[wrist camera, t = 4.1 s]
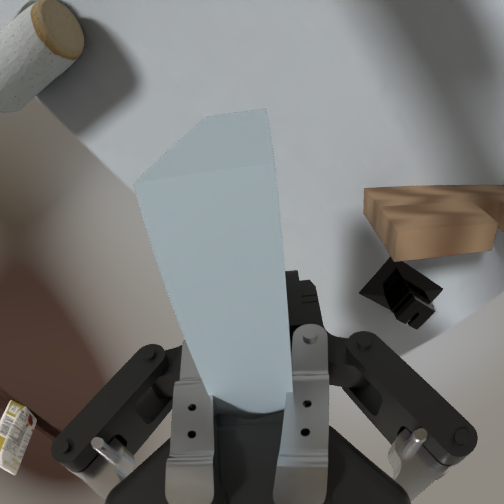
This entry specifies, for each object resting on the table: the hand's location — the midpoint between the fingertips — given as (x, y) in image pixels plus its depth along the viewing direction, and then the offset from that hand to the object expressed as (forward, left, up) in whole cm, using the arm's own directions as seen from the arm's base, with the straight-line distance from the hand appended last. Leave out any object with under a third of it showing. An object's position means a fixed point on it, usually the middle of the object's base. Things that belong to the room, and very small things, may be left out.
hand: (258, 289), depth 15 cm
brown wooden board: (+2, +20, -13) cm, 24 cm away
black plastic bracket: (+13, +15, -14) cm, 24 cm away
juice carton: (+47, -66, -13) cm, 82 cm away
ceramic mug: (-18, -17, -14) cm, 28 cm away
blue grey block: (0, 0, -1) cm, 1 cm away
